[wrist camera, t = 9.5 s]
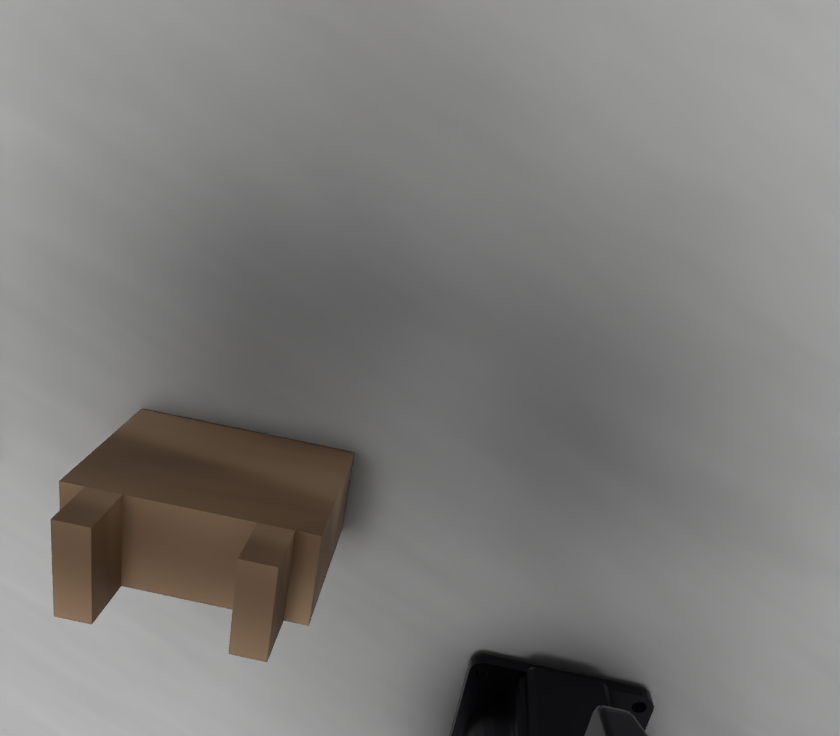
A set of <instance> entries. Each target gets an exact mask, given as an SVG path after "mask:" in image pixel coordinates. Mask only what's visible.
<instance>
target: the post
mask: <svg viewBox="0 0 840 736" xmlns="http://www.w3.org/2000/svg"><path fill="white" fill-rule="evenodd" d="M353 457H354V453H353V452H348V451H343V450H338V449H333V448H328V447H324V446H319V445H314V444H309V443H304V442H299V441H295V440H290V439H285V438H280V437H275V436H270V435H265V434H261V433H256V432H251V431H246V430H241V429H236V428H232V427H227V426H222V425H217V424H212V423H207V422H203V421H198V420H193V419H188V418H183V417H178V416H173V415H169V414H164V413H159V412H154V411H149V410H144V409H141V410H140V411H139V412H137V413H136V414H135V415H134V416H133V417H132V418H131V419H129V420H128V421H127V422H126V423H125V424H124V425H123V426H121V427H120V428H119V429H118V430H117V431H116V432H115V433H113V434H112V435H111V436H110V437H109V438H108V439H107V440H106V441H104V442H103V443H102V444H101V445H100V446H99V447H98V448H96V449H95V450H94V451H93V452H92V453H91V454H90V455H88V456H87V457H86V458H85V459H84V460H83V461H82V462H80V463H79V464H78V465H77V466H76V467H75V468H74V469H72V470H71V471H70V472H69V473H68V474H67V475H66V476H65V477H63V478H62V479H61V480H60V481H59V491H60V511H59V512H58V513H57V514H56V515H55V516H54V517H53V518H52V519H51V544H52V575H53V605H54V616H55V617H59V618H64V619H69V620H73V621H78V622H83V623H87V624H92V623H93V622H94V621H95V619H96V618H97V617H98V616H99V614H100V613H101V612H102V610H103V609H104V608H105V606H106V605H107V604H108V602H109V601H110V600H111V599H112V597H113V596H114V595H115V593H116V592H117V591H118V589H119V588H120V587H121V586H124V587H129V588H134V589H139V590H143V591H148V592H153V593H157V594H162V595H167V596H171V597H176V598H181V599H185V600H190V601H195V602H200V603H204V604H209V605H214V606H218V607H223V608H228V609H232V610H233V613H232V623H231V634H230V645H229V654H232V655H236V656H241V657H246V658H250V659H255V660H260V661H264V662H267V661H268V658H269V656H270V653H271V651H272V648H273V646H274V643H275V641H276V638H277V636H278V633H279V631H280V628H281V626H282V623H283V621H289V622H293V623H298V624H303V625H307V626H309V623H310V620H311V617H312V614H313V611H314V608H315V606H316V603H317V600H318V597H319V594H320V591H321V588H322V585H323V583H324V580H325V577H326V574H327V571H328V568H329V565H330V562H331V560H332V557H333V554H334V551H335V548H336V545H337V542H338V539H339V537H340V534H341V531H342V526H343V519H344V513H345V507H346V501H347V495H348V488H349V482H350V476H351V470H352V464H353Z"/></svg>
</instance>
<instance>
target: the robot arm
mask: <svg viewBox="0 0 840 736" xmlns="http://www.w3.org/2000/svg"><path fill="white" fill-rule="evenodd" d="M481 668H485V669H487V670H486V671H481V670H479V669H481ZM635 702H640V703H635ZM653 708H654V705H653V701H652V698H651V695H650V693H649V692H648V691H647V690H646V689H644V688H641V687H636V686H632V685H627V684H622V683H618V682H613V681H608V680H604V679H599V678H594V677H589V676H585V675H580V674H575V673H571V672H566V671H561V670H557V669H552V668H547V667H542V666H538V665H533V664H528V663H524V662H519V661H514V660H510V659H505V658H500V657H495V656H491V655H485V654H480V655H476V656H474V657H473V658H472V659H471V660H470V662H469V666H468V670H467V673H466V677H465V681H464V684H463V688H462V692H461V695H460V699H459V703H458V706H457V710H456V714H455V718H454V721H453V725H452V729H451V732H450V736H648V735H647V734H646V732H645V729H646V726H647V724H648V721H649V719H650V717H651V714H652V712H653Z"/></svg>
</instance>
